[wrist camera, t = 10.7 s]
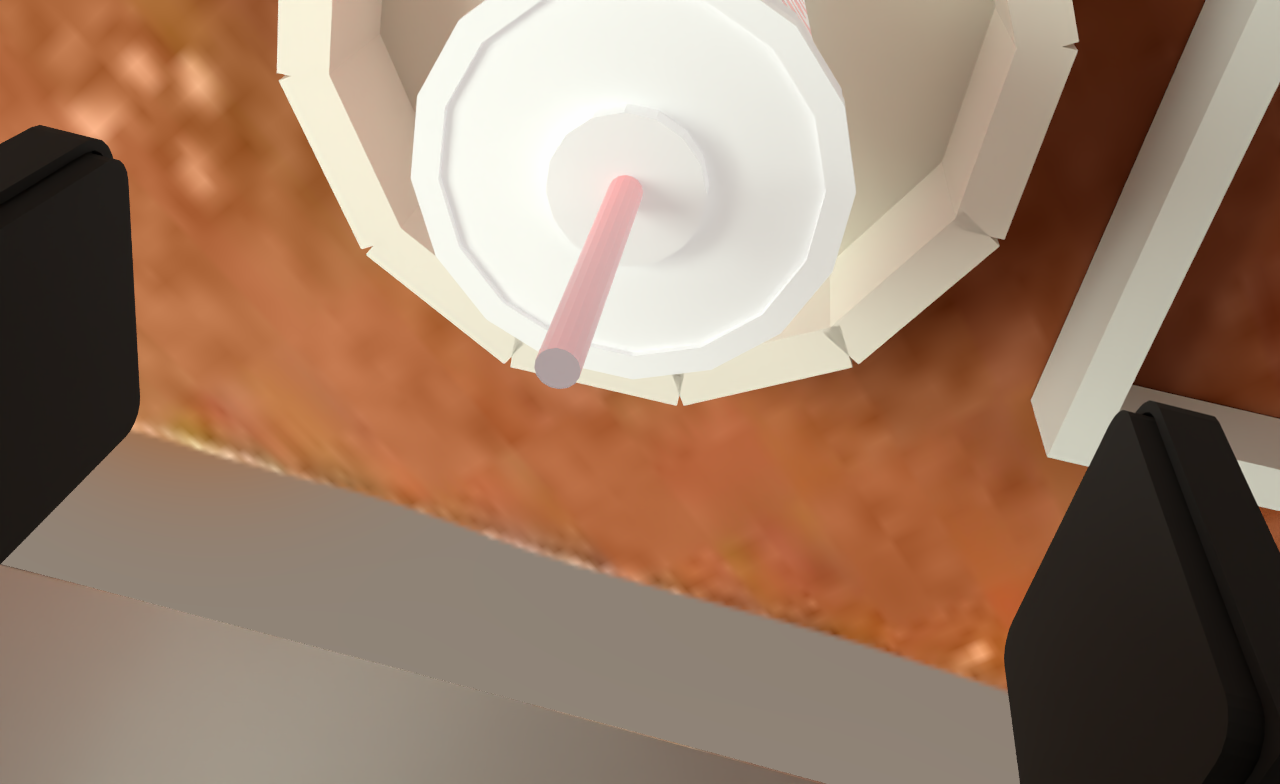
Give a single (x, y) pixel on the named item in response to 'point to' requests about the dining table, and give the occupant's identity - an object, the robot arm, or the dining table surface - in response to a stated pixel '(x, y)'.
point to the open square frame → (1167, 245)
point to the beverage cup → (634, 177)
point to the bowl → (879, 139)
